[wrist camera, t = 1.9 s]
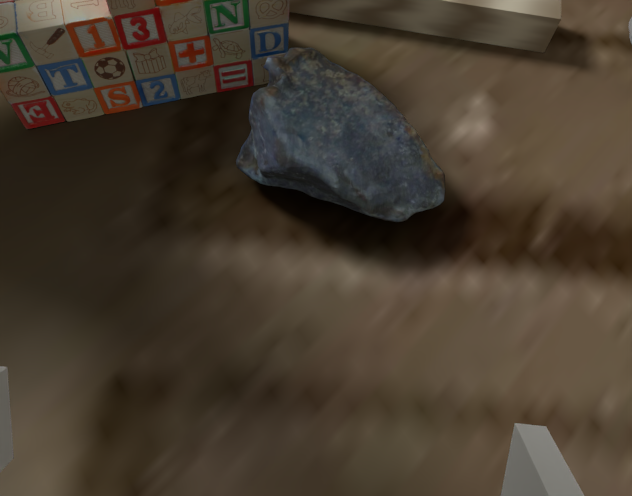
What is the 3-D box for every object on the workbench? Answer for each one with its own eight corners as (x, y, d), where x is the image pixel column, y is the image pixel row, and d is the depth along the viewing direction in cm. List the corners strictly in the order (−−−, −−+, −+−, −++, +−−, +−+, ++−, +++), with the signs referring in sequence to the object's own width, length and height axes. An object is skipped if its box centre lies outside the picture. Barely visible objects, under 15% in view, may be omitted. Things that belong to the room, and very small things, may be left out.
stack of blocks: (25, 133, 45) (-63, 1, 34) (20, 75, 47) (-63, -65, 36) (290, 79, 48) (289, -57, 37) (272, 28, 51) (265, -114, 40)
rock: (269, 91, 47) (191, 159, 42) (309, 20, 41) (223, 88, 35) (408, 216, 48) (351, 298, 43) (470, 166, 42) (412, 256, 36)
